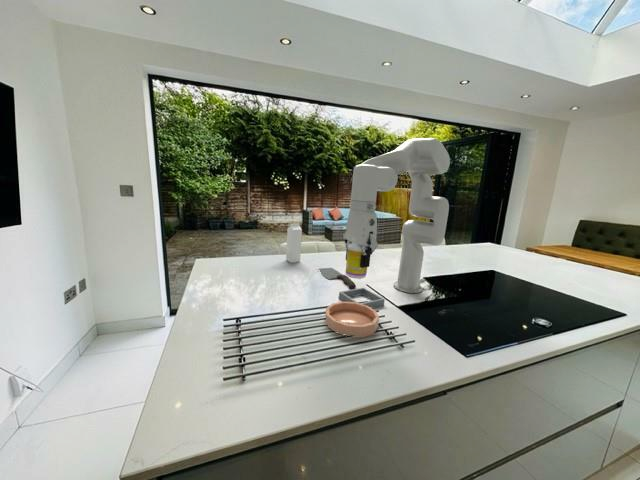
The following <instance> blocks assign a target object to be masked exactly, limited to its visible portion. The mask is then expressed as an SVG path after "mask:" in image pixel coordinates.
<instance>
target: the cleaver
mask: <svg viewBox="0 0 640 480" xmlns="http://www.w3.org/2000/svg"><path fill="white" fill-rule="evenodd" d="M318 269H319V270H320V272H321V274H322V275H321V274H320V275H321V276H322V277H324V278H326V279H327V280H331V281H332V280H341V281H342V282H343V283H344V284H345V285H346V286H347V287H348V289H349V290H353V289H357V286H356V284H355V282H354V281H353V280H352V279H351V277H348V276H347V275H346V274H343V273H341V272H340V271H338V270H336V269H335V268H333V267H321V268H318Z"/></svg>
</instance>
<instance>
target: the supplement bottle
mask: <svg viewBox="0 0 640 480" xmlns="http://www.w3.org/2000/svg"><path fill="white" fill-rule="evenodd" d="M352 241H353V242H352V243H350V244H349V245H348V252H347V261H346V264H345V275H346V276H347V277H348V278H350V279H351V278H352V279H355V280H356V279H358V280H359V279H360V280H361V279H365V278H366V277H367V272H368V267H364V268H361V267H360V261H361V255H363V252H362V247H361V245H358V244H356V243H355V242H356V239H355V237H353V238H352ZM367 249H368V248H367V247H366V250H367Z"/></svg>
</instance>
